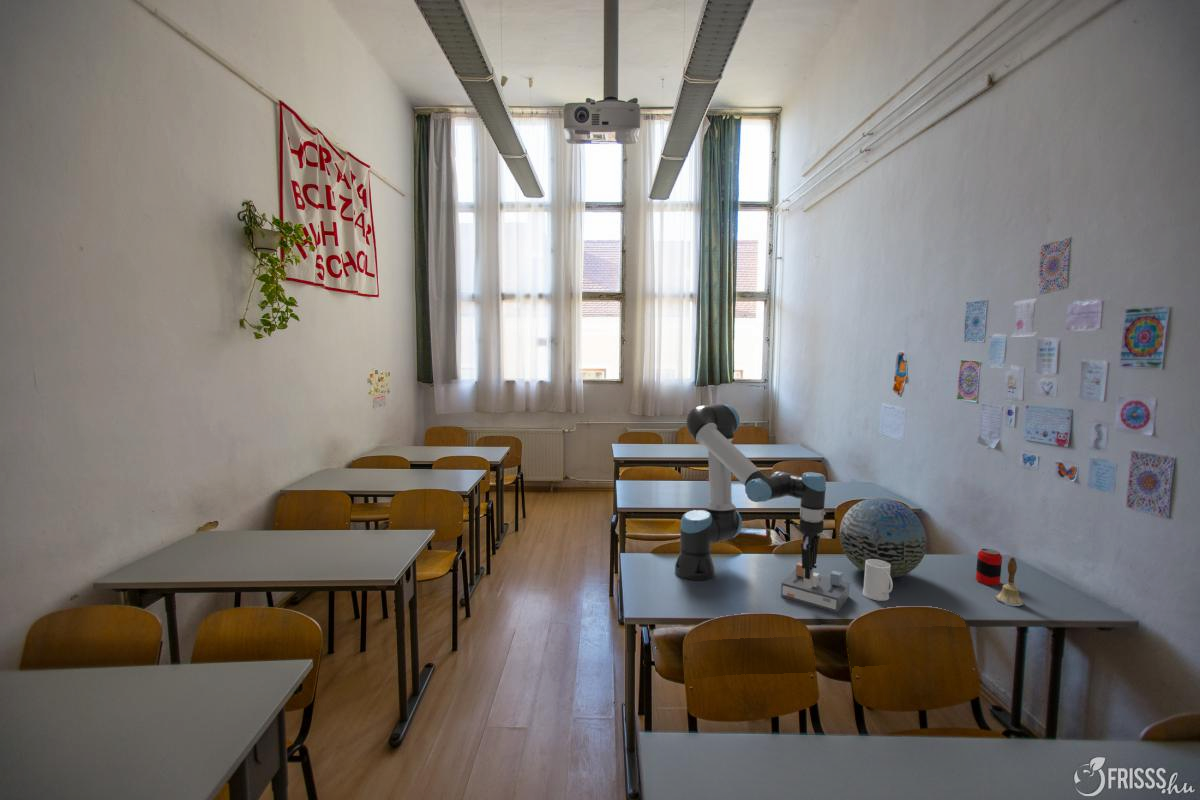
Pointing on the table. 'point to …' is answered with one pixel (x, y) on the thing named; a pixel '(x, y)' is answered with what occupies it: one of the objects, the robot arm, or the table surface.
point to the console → (815, 592)
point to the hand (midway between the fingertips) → (807, 586)
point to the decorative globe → (883, 535)
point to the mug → (877, 580)
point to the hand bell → (1010, 586)
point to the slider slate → (836, 578)
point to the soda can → (989, 567)
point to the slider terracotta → (799, 569)
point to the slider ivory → (815, 579)
